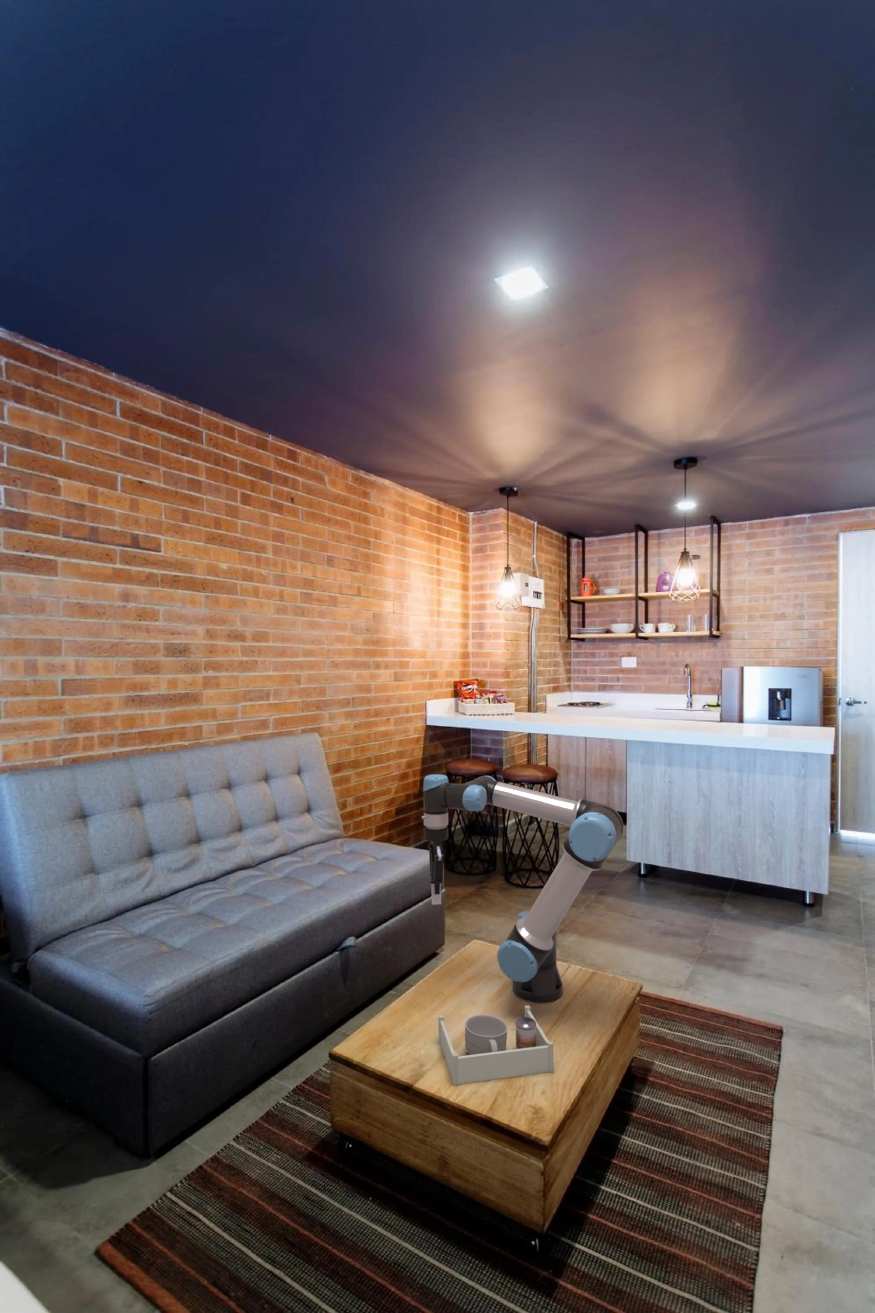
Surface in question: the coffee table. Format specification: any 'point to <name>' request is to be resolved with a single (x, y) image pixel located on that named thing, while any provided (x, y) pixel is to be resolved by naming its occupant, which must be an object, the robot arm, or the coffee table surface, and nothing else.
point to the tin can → (525, 1032)
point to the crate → (497, 1059)
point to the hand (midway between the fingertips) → (436, 903)
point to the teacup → (485, 1034)
